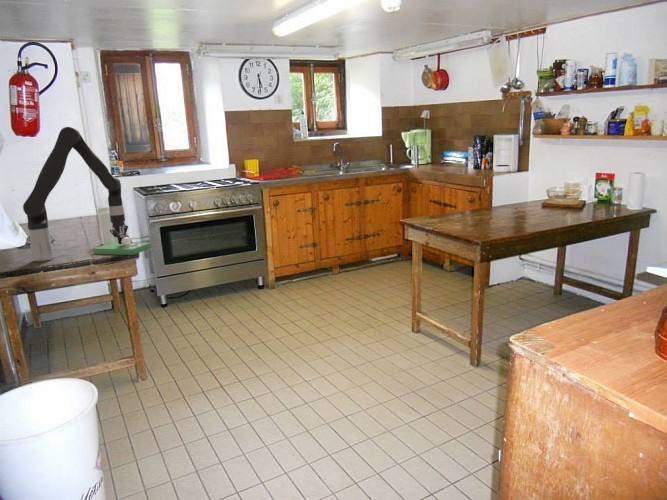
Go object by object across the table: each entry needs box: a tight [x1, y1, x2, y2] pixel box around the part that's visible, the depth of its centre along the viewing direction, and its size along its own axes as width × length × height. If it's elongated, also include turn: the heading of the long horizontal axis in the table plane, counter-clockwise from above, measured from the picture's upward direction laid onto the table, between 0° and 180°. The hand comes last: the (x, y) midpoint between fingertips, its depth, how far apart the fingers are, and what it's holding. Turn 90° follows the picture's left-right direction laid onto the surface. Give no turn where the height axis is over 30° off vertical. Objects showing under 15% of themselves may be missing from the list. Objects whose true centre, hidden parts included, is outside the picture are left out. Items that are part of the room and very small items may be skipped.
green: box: [92, 241, 152, 256], centre depth 278 cm, size 16×26×3 cm, turn 74°
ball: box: [121, 236, 132, 246], centre depth 276 cm, size 5×5×5 cm
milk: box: [97, 206, 115, 245], centre depth 297 cm, size 6×6×22 cm
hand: (121, 243), depth 278 cm, fingers closed
